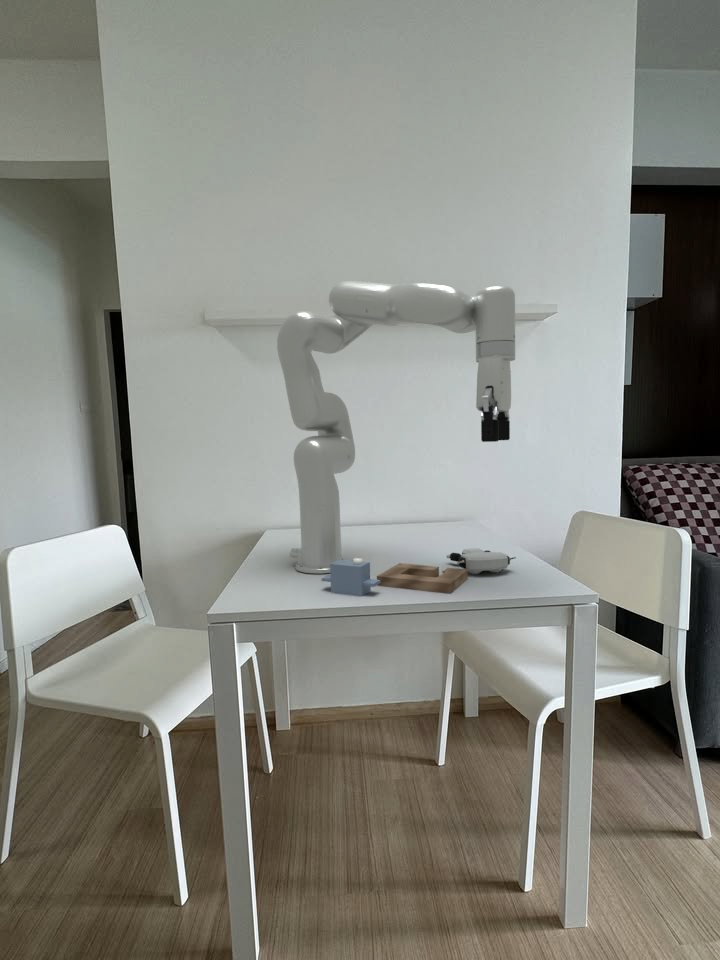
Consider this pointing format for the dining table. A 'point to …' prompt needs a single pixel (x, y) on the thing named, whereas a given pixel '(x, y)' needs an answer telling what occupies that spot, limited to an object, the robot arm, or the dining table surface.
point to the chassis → (423, 578)
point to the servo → (350, 577)
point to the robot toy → (481, 560)
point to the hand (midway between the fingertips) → (496, 440)
